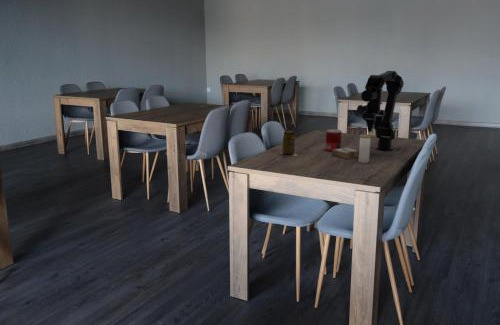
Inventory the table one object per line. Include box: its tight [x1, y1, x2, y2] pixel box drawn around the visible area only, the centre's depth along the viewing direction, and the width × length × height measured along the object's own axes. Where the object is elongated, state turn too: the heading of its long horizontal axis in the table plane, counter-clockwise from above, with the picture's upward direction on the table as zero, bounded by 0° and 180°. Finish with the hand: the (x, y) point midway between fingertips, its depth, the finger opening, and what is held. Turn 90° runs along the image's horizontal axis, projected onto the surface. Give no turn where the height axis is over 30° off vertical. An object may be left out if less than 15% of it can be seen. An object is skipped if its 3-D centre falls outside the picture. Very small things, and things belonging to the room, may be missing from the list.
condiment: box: [279, 130, 299, 157], centre depth 237 cm, size 7×8×12 cm
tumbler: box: [358, 134, 372, 164], centre depth 224 cm, size 5×5×13 cm
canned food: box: [325, 128, 342, 153], centre depth 248 cm, size 8×8×11 cm
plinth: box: [331, 147, 359, 160], centre depth 236 cm, size 10×10×3 cm
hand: (372, 130), depth 236 cm, fingers open, 9 cm apart
